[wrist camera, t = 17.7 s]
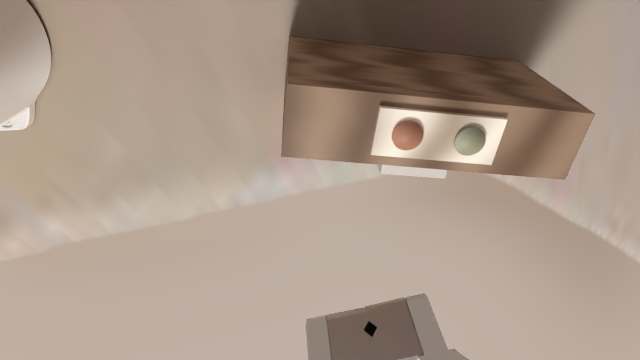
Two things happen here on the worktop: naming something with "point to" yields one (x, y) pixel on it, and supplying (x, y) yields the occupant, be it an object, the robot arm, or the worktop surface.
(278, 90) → the worktop surface
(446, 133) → the keypad console
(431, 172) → the key middle
